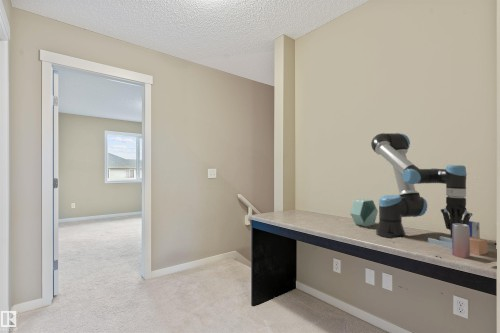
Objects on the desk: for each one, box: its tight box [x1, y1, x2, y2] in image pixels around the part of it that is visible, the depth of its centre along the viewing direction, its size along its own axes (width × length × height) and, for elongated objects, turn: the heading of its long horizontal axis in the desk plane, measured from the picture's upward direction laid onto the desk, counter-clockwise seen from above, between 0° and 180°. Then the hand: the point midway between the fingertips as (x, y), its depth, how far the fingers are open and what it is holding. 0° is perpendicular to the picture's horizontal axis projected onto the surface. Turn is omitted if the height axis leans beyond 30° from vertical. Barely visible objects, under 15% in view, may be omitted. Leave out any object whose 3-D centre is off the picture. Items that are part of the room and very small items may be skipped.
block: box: [470, 237, 489, 256], centre depth 115 cm, size 6×6×6 cm
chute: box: [427, 235, 452, 250], centre depth 125 cm, size 16×11×4 cm
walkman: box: [462, 219, 481, 239], centre depth 132 cm, size 8×3×12 cm, turn 25°
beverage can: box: [451, 223, 471, 259], centre depth 111 cm, size 6×6×15 cm
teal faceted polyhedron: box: [350, 198, 379, 227], centre depth 177 cm, size 17×8×21 cm
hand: (455, 244), depth 123 cm, fingers closed
